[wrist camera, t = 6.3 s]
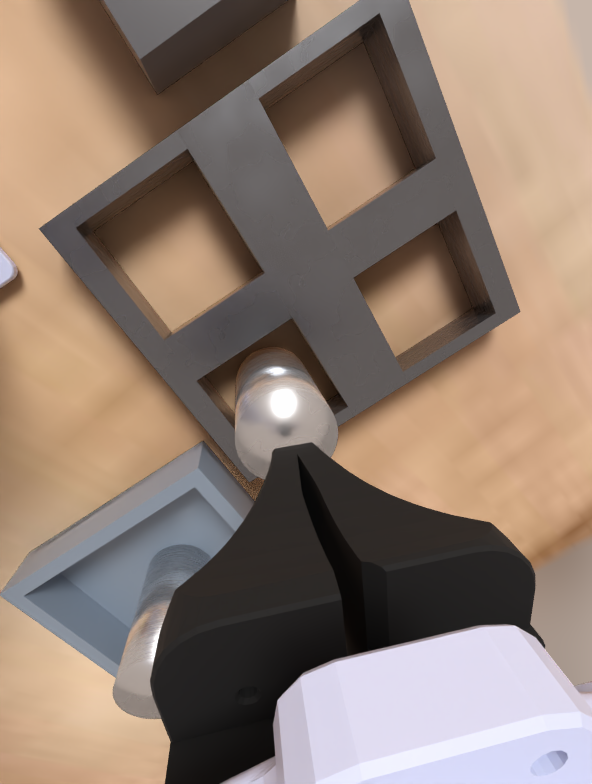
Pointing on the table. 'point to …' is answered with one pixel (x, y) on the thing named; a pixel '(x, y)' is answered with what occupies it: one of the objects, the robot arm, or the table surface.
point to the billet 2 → (278, 409)
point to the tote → (125, 552)
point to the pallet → (303, 230)
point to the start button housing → (181, 31)
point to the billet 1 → (152, 626)
